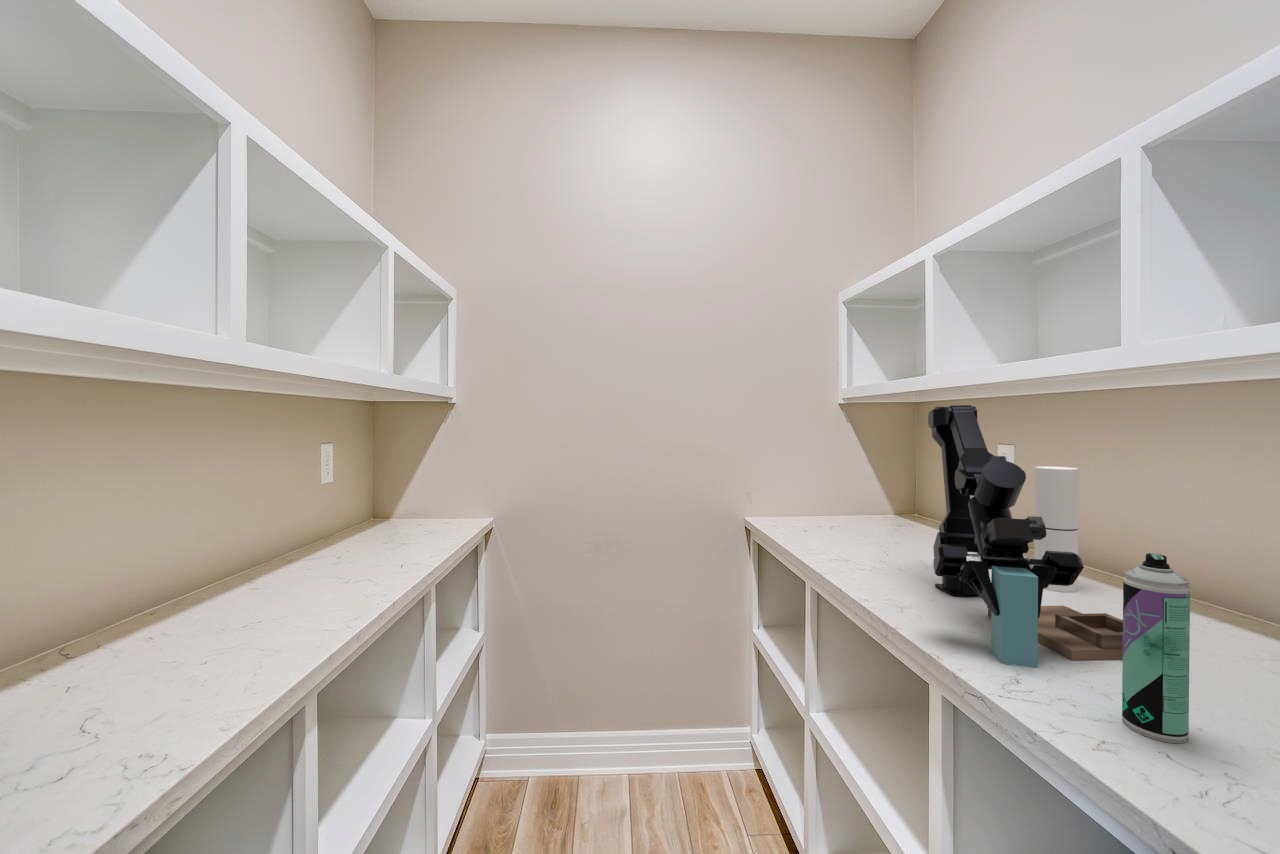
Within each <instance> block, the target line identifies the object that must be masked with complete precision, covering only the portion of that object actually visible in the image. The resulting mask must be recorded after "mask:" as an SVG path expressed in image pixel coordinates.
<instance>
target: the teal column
mask: <svg viewBox="0 0 1280 854" xmlns="http://www.w3.org/2000/svg"><path fill="white" fill-rule="evenodd" d="M991 583H992V586H993V589H994V592H995V595H996V598H997V601H998V606H999V611H1000V614H999V615H998V616H995V615H994V613H993V612H992V611H991V616H990V617H991V619H990V621H991V624H990V625H991V626H990V627H991V632H990V633H991V635H990V636H991V637H990V638H991V640H990V644H991V646H990V648H991V649H990V650H992V651H991V652H992V653H993V655H994V656H995V658H996V659H997V660H998V661H999V662H1000V664H1003V663H1004V664H1006V665H1012V664H1014V665H1015V664H1016V665H1015V666H1020V665H1025V666H1024V667H1029V666H1032V667H1031V668H1037V667H1038V665H1039V664H1038V663H1039V662H1038V659H1039V657H1038V656H1039V654H1038V653H1039V652H1038V651H1039V650H1038V649H1039V645H1038V643H1039V642H1038V577H1037V576H1036V575H1035V574H1033V573H1032V572H1030V571H1029V570H1028V569H1026V568H1012V567H998V566H992V569H991ZM1014 665H1013V666H1014Z"/></svg>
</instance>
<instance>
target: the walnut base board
mask: <svg viewBox="0 0 1280 854" xmlns="http://www.w3.org/2000/svg"><path fill="white" fill-rule="evenodd" d="M986 609H987V616H989V617H991V610H990V608H989V607H988V606H987V605H986ZM1038 643H1039V644H1040V645H1042V646H1044V647H1047V648H1048V649H1050V650H1052V651H1053V650H1054V652H1055V651H1056V652H1055V653H1056V654H1059V653H1060V654H1059V655H1061V656H1063V657H1065V658H1066V657H1067V659H1068V660H1070V661H1102V660H1103V661H1106V660H1110V661H1112V660H1115V661H1116V660H1123V619H1121V618H1118V617H1116V616H1113V615H1111V614H1108V613H1106V612H1103V613H1098V612H1097V613H1083V612H1080V611H1077V610H1075V609H1072V608H1071V607H1068V606H1066V605H1064V604H1063V605H1041V610H1040V617H1039V619H1038Z"/></svg>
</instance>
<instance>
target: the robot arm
mask: <svg viewBox="0 0 1280 854" xmlns="http://www.w3.org/2000/svg"><path fill="white" fill-rule="evenodd" d="M927 425H928V427H929V428H930V429H931V430H930V431H931V437H932V439H933V440H934V441H935V442H936V443H937V445H938V446H939V447H940V448H941V459H942V472H943V473H942V474H943V483H944V484H943V485H944V497H945V510H946V514H945V516H944V518H943V519H942V522H941V523H940V524H939V525H938V526H939V527H938V532H937V533H936V536H935V539H934V544H933V547H932V549H933V570H934V574H935V576H937V577H941V578H942V579H941V581H942V583H934V587H936V588H937V589H940V590H941V591H944V592H945V593H947V594H949V595H951V596H952V597H966V596H967V597H969V596H970V597H972V596H975V597H977V596H979V597H980V598H981V600H982V601H983V602H984V604H986V607H987V606H988V607H989V608H990V610H991V611H992V612H993V613H994V615H995V616H998V615H999V614H1000V611H999V606H998V601H997V598H996V595H995V592H994V589H993V586H992V579H991V578H990V570H992V566H998V567H1012V568H1026V569H1028V570H1029V571H1030V572H1032V573H1033V574H1035V575H1036V576H1037V577H1038V619H1039V617H1040V610H1041V606H1042V602H1043V601H1042V600H1043V593H1044V590H1045V589H1044V588H1047V587H1048V586H1049V585H1061V586H1069V585H1073V583H1074V582H1075V580H1076V579H1077V577H1079V575H1080V574H1081V572H1082V571H1083V569H1084V564H1083V562H1082V559H1081V557H1080V556H1079V554H1078V555H1077V554H1075V553H1073V552H1061V551H1046V552H1045V554H1044V556H1043V557H1042V559H1035V558H1028V557H1025V556H1024V554H1028V552H1029V550H1030V547H1029V545H1028V544H1029V543H1034V541H1035V540H1041V539H1043V538H1045V537H1046V528H1045V524H1044V522H1043V519H1042V517H1035V516H1031V515H1030V516H1027V518H1013V516H1012V512H1011V510H1010V508H1013V507H1015V505H1016V504H1017V500H1018V498H1019V496H1020V494H1021V492H1022V489H1023V487H1024V485H1025V482H1026V479H1027V475H1026V471H1024V470H1023V468H1021V467H1020V466H1018V465H1017V464H1016V463H1014V462H1010V461H1008V460H1007V459H1006V455H1003V456H1002V455H994V454H992V452H991V453H990V452H989V450H988V448H987V445H986V442H985V439H984V436H983V432H982V430H981V428H980V425H979V422H978V409H977V407H976V406H972V405H971V404H956V405H955V404H953V405H950V406H935V407H933V409H931V410H930V411H928V415H927Z"/></svg>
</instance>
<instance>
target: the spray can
mask: <svg viewBox="0 0 1280 854" xmlns="http://www.w3.org/2000/svg"><path fill="white" fill-rule="evenodd" d="M1167 559H1168V557H1167V556H1166V555H1163V554H1160V553H1151V552H1150V553H1146V554H1145V560H1143V562H1142V563H1141V562H1140V563H1139V564H1138V566H1137V567H1134V568H1132V569H1128V570H1125V571H1124V577H1123V579H1122V580H1123V581H1122V583H1123V584H1122V585H1123V586H1122V600H1123V601H1122V620H1123V659H1122V683H1121V684H1122V685H1121V686H1122V687H1121V688H1122V689H1121V690H1122V691H1121V692H1122V693H1121V695H1122V696H1121V697H1122V699H1121V702H1122V704H1121V716H1122V719H1121V720H1122V723H1123V724H1124V725H1125V726H1126V727H1127V728H1129V729H1130V730H1132V731H1134V732H1135V733H1137V734H1139V735H1142V736H1145V737H1147V738H1150V739H1153V740H1156V741H1159V742H1164V743H1170V744H1185V743H1186V742H1188V740H1189V734H1190V733H1189V732H1190V731H1189V729H1190V727H1189V726H1190V725H1189V724H1190V722H1189V721H1190V720H1189V719H1190V718H1189V717H1190V645H1191V644H1190V643H1191V641H1190V637H1191V636H1190V635H1191V632H1190V629H1191V588H1190V586H1189V584H1190V583H1189V582H1190V580H1188V579H1187V578H1185V577H1183V576H1181V574H1179V573H1177V572H1175V571H1174V568H1173V567H1171V566H1170V564H1169V563H1168V562H1167V561H1168V560H1167Z"/></svg>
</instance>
